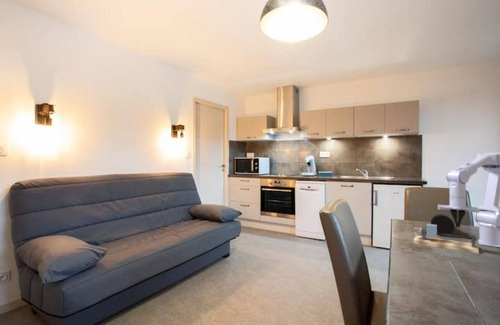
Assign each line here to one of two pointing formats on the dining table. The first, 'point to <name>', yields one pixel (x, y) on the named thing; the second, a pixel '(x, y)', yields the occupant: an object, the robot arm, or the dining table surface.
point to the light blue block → (431, 231)
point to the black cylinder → (443, 224)
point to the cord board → (445, 241)
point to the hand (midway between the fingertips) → (457, 226)
